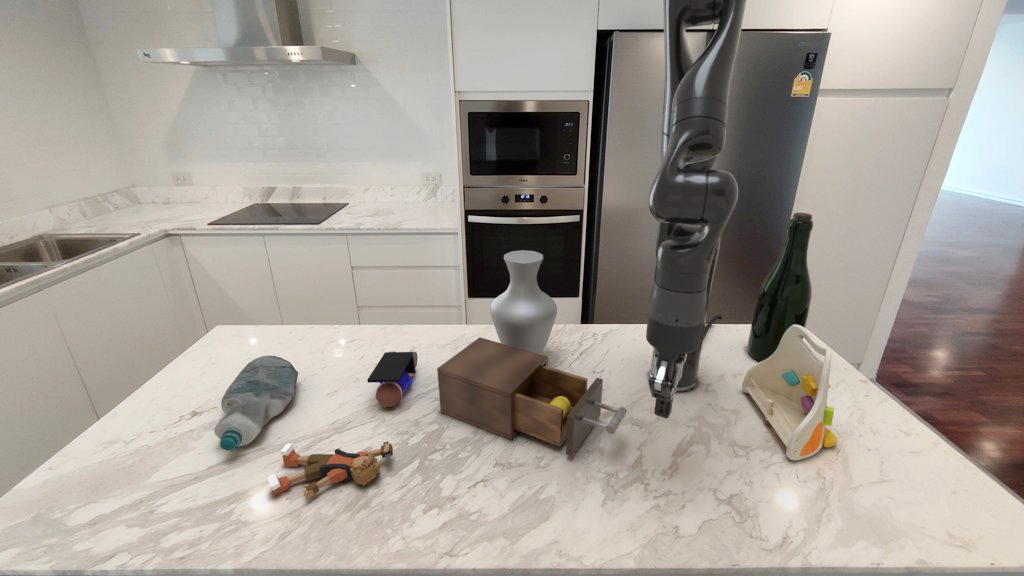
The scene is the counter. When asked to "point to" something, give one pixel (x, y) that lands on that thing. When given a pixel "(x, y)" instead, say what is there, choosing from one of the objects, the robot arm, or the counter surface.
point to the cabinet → (486, 384)
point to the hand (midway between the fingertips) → (662, 414)
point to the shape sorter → (795, 393)
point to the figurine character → (393, 376)
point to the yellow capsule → (562, 404)
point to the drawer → (548, 420)
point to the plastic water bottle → (255, 399)
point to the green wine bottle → (783, 292)
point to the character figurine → (330, 468)
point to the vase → (524, 305)
